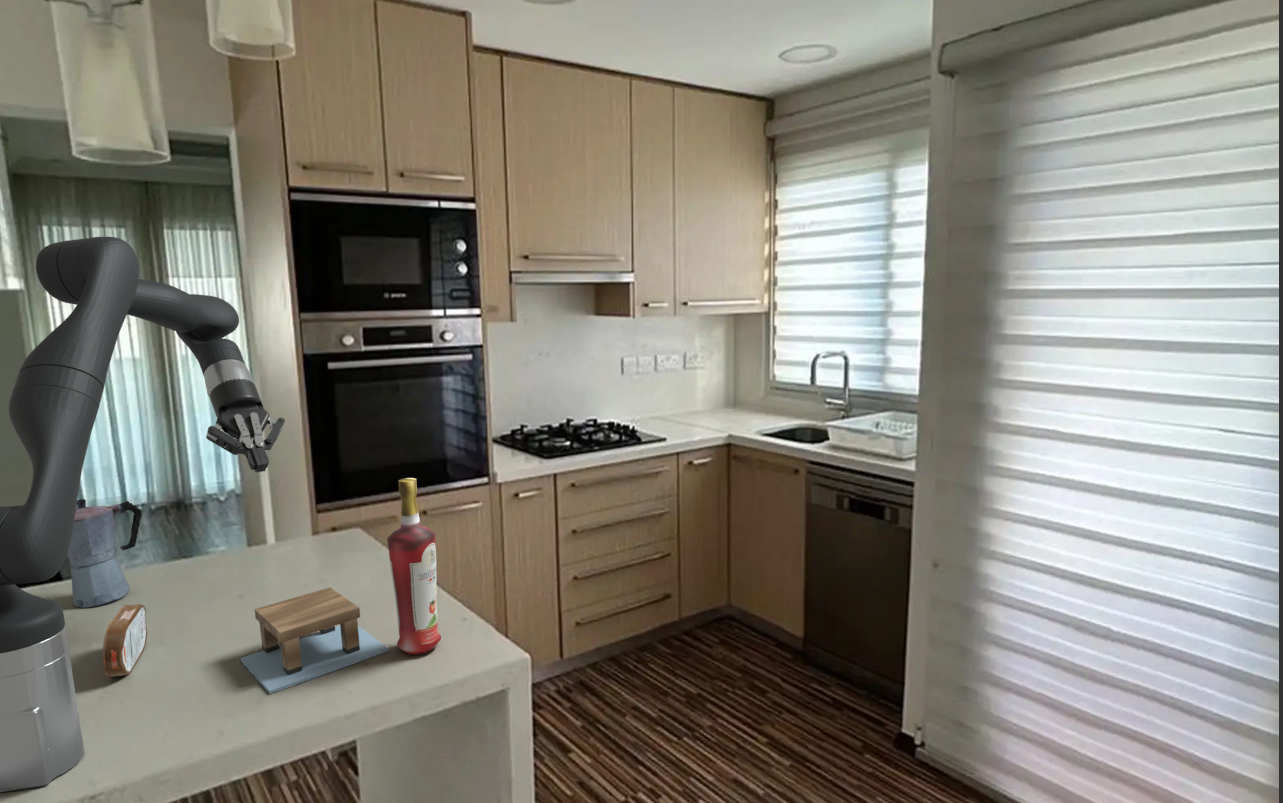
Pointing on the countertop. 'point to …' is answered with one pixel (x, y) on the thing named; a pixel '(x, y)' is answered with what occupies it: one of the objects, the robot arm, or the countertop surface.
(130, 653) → the tin
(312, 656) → the mat
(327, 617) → the wooden board with legs
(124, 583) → the moka pot
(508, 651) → the countertop surface
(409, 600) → the liquor
